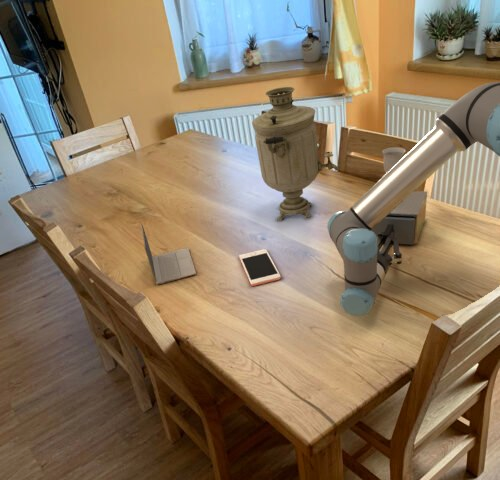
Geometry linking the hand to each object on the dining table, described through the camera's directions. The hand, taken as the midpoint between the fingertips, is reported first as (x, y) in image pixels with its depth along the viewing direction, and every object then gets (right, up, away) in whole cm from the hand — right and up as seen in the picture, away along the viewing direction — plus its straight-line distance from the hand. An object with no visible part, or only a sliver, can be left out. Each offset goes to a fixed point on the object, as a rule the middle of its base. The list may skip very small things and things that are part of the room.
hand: (390, 228), depth 142 cm
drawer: (+4, +1, +9) cm, 10 cm away
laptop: (-65, -9, +15) cm, 67 cm away
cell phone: (-38, -11, +6) cm, 40 cm away
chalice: (+8, +14, +26) cm, 31 cm away
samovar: (-22, +12, +31) cm, 40 cm away
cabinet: (+6, +2, +11) cm, 13 cm away
